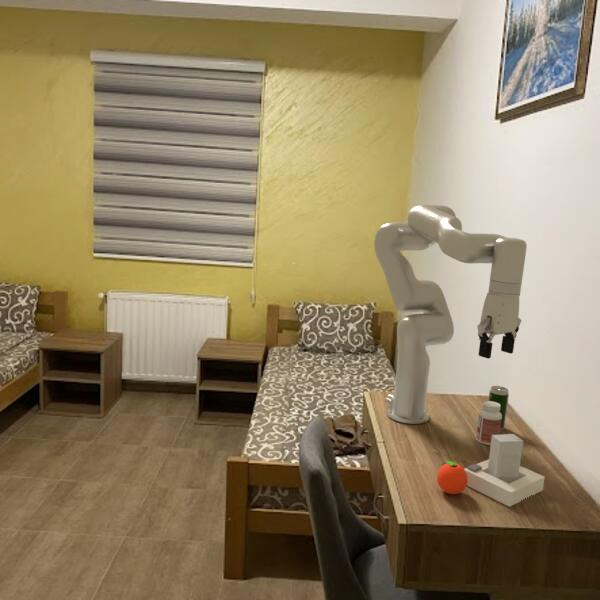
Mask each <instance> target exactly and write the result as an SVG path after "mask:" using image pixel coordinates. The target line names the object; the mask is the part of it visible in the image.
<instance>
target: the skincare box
mask: <svg viewBox="0 0 600 600" xmlns="http://www.w3.org/2000/svg"><path fill="white" fill-rule="evenodd" d="M523 445H524V440H523V439H522V438H520V437H518V436H517V435H516V434H514V433H507V434H506V433H505V434H500V435H492V438H491V445H489V447H490V448H489V449H490V450H489V456H488V459H489V462H488V471H487V474H489V475H492V476H494V477H496V478H498V479H500V480H502V481H504V482H506V483H508V484H509V483H511V482H514V481H516V480H518V476H519V469H520V466H521V460H522V453H523Z"/></svg>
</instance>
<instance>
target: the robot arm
mask: <svg viewBox="0 0 600 600" xmlns="http://www.w3.org/2000/svg"><path fill="white" fill-rule="evenodd" d="M406 217H407V218H406V221H407V222H404V221H403V222H401V221H400V222H398V221H396V222H388V223H384V224H382V225H381V226H379V228H378V229H377V230H376V233H375V236H374V240H373V241H374V242H373V243H374V253H375V255H376V258H377V261H378V262H379V264H380V266H381V269H382V271H383V273H384V277H385V279H386V283H387V286H388V287H387V288H388V289H389V293H390V296H391V300H392V302H393V305H394V308H395V309H396V310H398V311H399V312H401V313H412V314H407V315H405V316H404V317H402V318H401V319H400V320H399V321H398V324H397V327H396V329H397V330H396V335H397V360H396V362H397V363H396V372H395V382H394V393H393V395H392V394H387V396H386V397H385V398H384V402H385V403H387V404H390V405H389V407H388V408H387V410H386V415H387V416H388V417H389V418H390V419H392V420H393V421H396V422H398V423H402V424H403V423H404V424H410V425H420V424H424V423H427V422H428V421H429V419H430V414H429V413H428V411H426V402H427V400H426V399H427V393H428V383H429V376H430V374H429V373H430V365H431V363H430V362H431V361H430V360H431V359H430V356H429V354H428V351H427V349H426V347H428V346H437V345H438V346H439V345H444V344H447V343H448V342H450V341H451V340H452V339H453V336H454V332H455V331H454V330H455V329H454V328H455V327H454V322H453V318H452V314H451V312H450V309H449V306H448V304H447V300H446V297H445V294H444V292H443V290H442V288H441V287H440V286H439V284H438V283H436V282H434V281H433V280H429V279H421V280H419V279H417V277H416V275H415V273H414V269H413V267H412V265H411V264H412V263H410V262H409V261H410V260H408V258H406V256H404V254H402V252H401V251H424V250H427V249H428V248H430V247H432V246H433V245H435V244H438V246H439V249H440V250H441V252H442V253H443V254H444V255H446V256H448V257H450V258H451V259H453V260H456V261H458V262H460V263H464V264H491V267H490V268H491V269H490V274H489V275H490V276H489V285H488V290H487V291H488V292H487V293H486V295H485V299H484V303H483V306H482V311H481V316H480V322H479V323H478V325H477V333H478V334H477V336H478V340H479V348H478V356H479V357H482V358H485V359H488V360H490V359H491V358H492V350H493V342H492V340H493V339H494V337H495V336H497V335H502V341H501V346H500V347H501V348H500V351H501V352H504V353H507V354H509V355H510V354H513V353H514V349H515V341H516V338H517V333H518V332H519V330H520V328H519V327H520V325H521V323H522V319H521V318H520V317H519V314H520V296H521V290H522V281H523V277H524V269H525V268H524V267H525V261H526V255H527V242H526V241H525V240H524V239H520V238H516V237H507V236H504V235H501V234H495V233H469V232H466V231H463V225H462V222H461V220H460V219H459V218H458V217H457V215H456V213H455V211H454V210H453V209H452V208H451V207H449V206H447V205H439V204H419V205H416V206H413V207H412V208H411V209H410V210H409V212H408V214H407V216H406ZM417 312H418V313H417ZM419 312H422V313H419ZM415 313H416V314H415Z"/></svg>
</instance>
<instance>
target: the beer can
mask: <svg viewBox="0 0 600 600" xmlns="http://www.w3.org/2000/svg"><path fill="white" fill-rule="evenodd" d="M509 396H510V393H509V389H508V387H505V386H501V385H492V386H490V389H489V394H488V400H487V401H493V402H497V403H499V404H500V405H501V407H500V411H499V412H500V413H501V414H502V420H501V428H500V431H502V430H503V429H504V428H505V423H506V415H507V410H508V409H507V408H508V401H509Z"/></svg>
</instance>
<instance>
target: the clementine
mask: <svg viewBox="0 0 600 600" xmlns="http://www.w3.org/2000/svg"><path fill="white" fill-rule="evenodd" d="M445 463H446V464H445ZM464 469H465V468H463V467H462V465H460V464H458V463H455V462H453V461H450V460H447V461H443V462H442V464H441V467H440V468H439V469H438V472H437V474H436V481H437V485H438V486H439V488H440V489H441V490H442V491H443V492H444V493H447V494H449V495H457V494H460V493H462V492H463V491H464V490H465V489H466V487H467V483H468V476H467V473H466V471H465V470H464Z"/></svg>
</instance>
